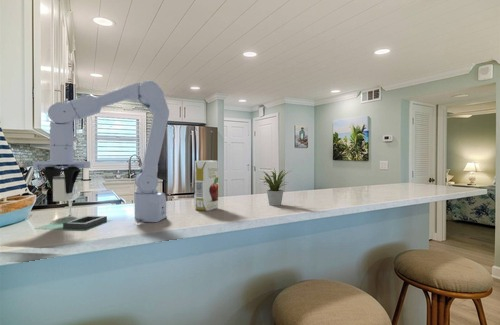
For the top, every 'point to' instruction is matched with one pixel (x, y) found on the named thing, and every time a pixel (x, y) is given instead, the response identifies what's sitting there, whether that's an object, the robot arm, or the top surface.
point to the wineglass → (74, 194)
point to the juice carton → (206, 185)
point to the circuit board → (77, 223)
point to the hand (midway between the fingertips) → (62, 193)
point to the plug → (60, 189)
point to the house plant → (275, 188)
